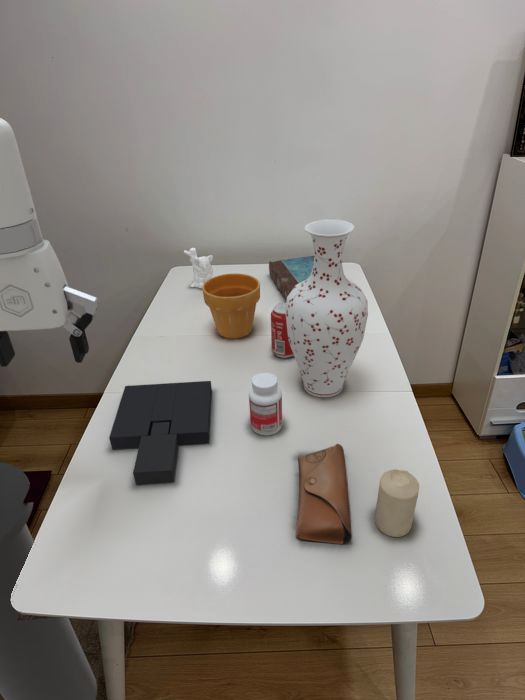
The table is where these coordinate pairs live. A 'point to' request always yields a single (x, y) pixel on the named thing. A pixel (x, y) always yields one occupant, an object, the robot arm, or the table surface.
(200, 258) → the white animal figurine
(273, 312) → the beverage can
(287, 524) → the table surface
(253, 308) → the flower pot
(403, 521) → the candle
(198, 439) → the base pad
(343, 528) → the sunglasses case
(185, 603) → the table surface
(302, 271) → the book
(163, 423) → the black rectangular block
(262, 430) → the pill bottle
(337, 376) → the vase
